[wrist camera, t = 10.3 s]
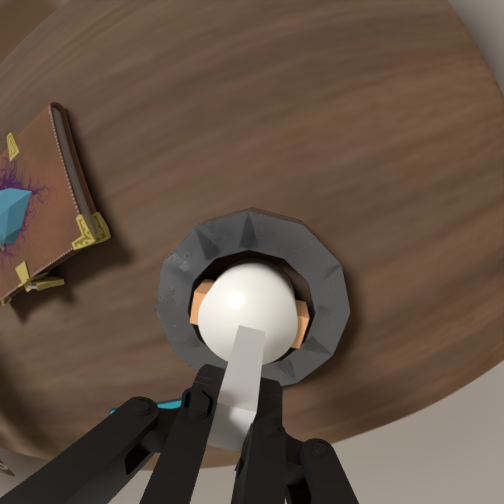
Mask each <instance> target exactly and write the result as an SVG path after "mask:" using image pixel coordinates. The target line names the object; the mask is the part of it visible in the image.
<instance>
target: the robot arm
mask: <svg viewBox="0 0 504 504" xmlns="http://www.w3.org/2000/svg"><path fill="white" fill-rule="evenodd" d="M264 339H265V331H261V330H257V329H253V328H249V327H245V326H241V325H239V327H238V330H237V334H236V337H235V341H234V344H233V348H232V351H231V355H230V358H229V362H228V365H227V369H224V368H221V367H217V366H213V365H210V364H205V365H204V366H202V367H201V368H200V369H199V371H198V373H197V376H196V378H195V381H194V383H193V385H192V388H189V389H187V390H185V391H184V392H183V394H182V400H181V406H180V407H177V408H159V407H158V405H157V404H156V403H155V402H154V401H153V400H151V399H149V398H146V397H140V396H139V397H133V398H131V399H129V400H128V401H126V402H125V403H124V404H123V405H121V406H120V407H119V408H118V409H117V410H115V411H114V412H113V413H112V414H110V415H109V416H108V417H107V418H105V419H104V420H103V421H102V422H100V423H99V424H98V425H97V426H95V427H94V428H93V429H92V430H90V431H89V432H88V433H87V434H85V435H84V436H83V437H81V438H80V439H79V440H78V441H76V442H75V443H74V444H72V445H71V446H70V447H69V448H67V449H66V450H65V451H63V452H62V453H61V454H59V455H58V456H57V457H56V458H54V459H53V460H52V461H50V462H49V463H48V464H46V465H45V466H44V467H42V468H41V469H40V470H38V471H37V472H36V473H34V474H33V475H31V476H30V477H29V478H27V479H26V480H25V481H23V482H22V483H20V484H19V485H18V486H16V487H15V488H14V489H12V490H11V491H9V492H8V493H6V494H5V495H4V496H2V497H1V498H0V504H107V503H109V502H110V500H111V499H112V498H113V497H114V496H115V495H116V494H117V493H118V492H119V491H120V490H121V489H122V488H123V487H124V486H125V485H126V484H127V483H128V482H129V481H130V479H132V478H133V477H134V476H135V474H136V473H137V472H138V471H139V470H140V469H141V468H142V467H143V466H144V465H145V464H146V463H147V461H148V460H149V459H150V458H151V457H152V456H153V455H154V454H155V453H161V454H160V456H159V459H158V461H157V463H156V466H155V468H154V470H153V473H152V475H151V477H150V480H149V482H148V485H147V487H146V489H145V492H144V494H143V496H142V499H141V501H140V503H139V504H190V501H191V497H192V493H193V490H194V487H195V483H196V480H197V476H198V473H199V469H200V466H201V462H202V459H203V455H204V452H205V448H206V444H208V445H211V446H215V447H219V448H223V449H227V450H232V451H236V452H241V450H242V452H241V457H240V459H239V461H238V463H237V466H236V468H235V471H237V472H236V477H235V484H234V489H233V494H232V500H231V504H285V498H286V502H287V504H359V503H358V501H357V498H356V496H355V494H354V492H353V490H352V487H351V485H350V483H349V481H348V479H347V477H346V474H345V472H344V470H343V468H342V466H341V464H340V461H339V459H338V457H337V455H336V453H335V451H334V449H333V447H332V446H331V444H329V443H328V442H326V441H324V440H322V439H316V438H313V439H309V440H307V441H306V442H305V443H304V442H302V441H299V440H297V439H295V438H293V437H291V436H289V435H288V434H287V433H286V432H285V428H284V427H283V426H282V387H281V385H280V383H279V381H276V380H272V379H267V378H263V377H261V368H262V359H263V349H264Z"/></svg>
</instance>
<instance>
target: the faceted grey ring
mask: <svg viewBox="0 0 504 504" xmlns="http://www.w3.org/2000/svg"><path fill="white" fill-rule="evenodd" d="M245 250H253V251H256V252H260V253H264V254H268V255H272V256H276V257H279V258H283V259H285V260H286V261H287V262H288V263H289V264H290V265H291V266H292V267H293V268H294V269H295V270H296V271H297V272H298V273H299V274H300V275H301V276H302V277H303V278H304V279H305V280H306V281H307V283H308V287H309V291H310V295H311V300H310V303H309V306H308V309H307V310H308V315H309V321H308V324H307V327H306V330H305V333H304V336H303V339H302V342H301V345H300V348H299V349H298V348H293V347H290V348H289V349H288V351H287V352H286V353H285V354H284V355H282V356H281V357H280V358H278V359H276V360H275V361H273V362H270V363H268V364H264V365H262V368H261V377H263V378H267V379H272V380H276V381H279V383H280V385H281V386H285V385H290V384H294V383H298V382H299V381H300V380H302V379H303V378H304V377H306V376H307V375H308V374H310V373H311V372H312V371H314V370H315V369H316V368H318V367H319V366H320V365H321V364H323V363H324V362H325V361H326V360H328V359H329V358H330V357H331V356H333V354H334V352H335V349H336V347H337V345H338V342H339V340H340V338H341V335H342V333H343V330H344V328H345V325H346V323H347V320H348V318H349V315H350V313H351V312H350V307H349V302H348V296H347V291H346V285H345V280H344V275H343V270H342V265H341V263H340V262H339V261H338V259H337V258H336V257H335V256H334V254H332V253H331V251H330V250H329V249H328V248H327V247H326V246H325V245H324V244H323V243H322V242H321V241H320V240H319V239H318V238H317V237H316V236H315V235H314V234H313V233H312V232H311V231H310V230H309V229H308V228H307V227H306V226H305V225H304V224H303V223H302V222H301V220H298V219H294V218H290V217H287V216H283V215H279V214H275V213H271V212H268V211H264V210H260V209H256V208H252V207H251V208H248V209H245V210H241V211H238V212H234V213H231V214H227V215H224V216H220V217H217V218H214V219H210V220H207V221H204V222H202V223H200V224H198V225H196V226H195V227H194V228H193V229H192V230H191V231H190V232H189V234H188V235H187V236H186V237H185V238H184V239H183V240H182V242H181V243H180V244H179V245H178V246H177V247H176V248H175V249H174V251H173V252H172V253H171V254H170V255H169V256H168V258H167V259H166V260H165V261H164V262H163V263H162V267H161V274H160V281H159V287H158V295H157V302H156V309H155V310H156V312H157V315H158V317H159V320H160V322H161V324H162V327H163V329H164V332H165V334H166V336H167V339H168V341H169V343H170V345H171V348H172V350H173V352H175V353H176V354H177V355H178V356H179V357H180V358H182V359H183V360H184V361H185V362H186V363H188V364H189V365H190V366H191V367H192V368H194V369H195V370H196V371H197V372H198V371H199V369H200V368H201V367H202V366H204V365H205V364H210V365H213V366H217V367H221V368H224V369H227V365H228V361H225V360H224V359H222V358H220V357H219V356H217V355H216V354H215V353H214V352H213V351H212V350H211V349H210V348H209V347H208V346H207V345H206V343H205V342H204V340H203V338H202V336H201V333H200V330H199V326H198V325H196V324H192V323H190V317H191V310H192V304H193V297H194V291H195V290H196V289H197V288H198V287H199V285H200V281H201V276H202V272H203V271H204V270H205V269H206V268H207V267H208V265H209V264H210V263H211V262H212V261H213V260H214V259H215V258H219V257H223V256H227V255H230V254H234V253H238V252H242V251H245Z"/></svg>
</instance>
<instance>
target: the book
mask: <svg viewBox="0 0 504 504" xmlns="http://www.w3.org/2000/svg"><path fill="white" fill-rule="evenodd" d="M7 141H8V147H7V148H6V149H5V151H4V152H3V153H2V154H1V155H0V306H1V304H2V303H3V305H4V306H5V305H7V304H8V303H9V302H10V301H11V299H12V297H13V296H14V295H16V294H17V293H18V292H20V291H21V290H23V289H24V288H25V289H26V291H27V292H28V291H30V290H31V289H37V290H38V291H39V290H42V289H46V288H49V287H54V286H59V285H64V279H62V278H59V277H55V276H49V277H45V278H42V277H44V276H45V275H47V274H48V272H49V271H50V270H52V269H53V268H55V267H56V266H58V265H59V264H61V263H62V262H64V261H65V260H67V259H68V258H70V257H72V256H73V255H75V254H76V253H78V252H79V251H81V250H83V249H84V248H86V247H87V246H91V245H94V244H97V243H101V242H104V241H106V240H107V239H109V238H110V237H111V236H110V232H109V228H108V226H107V224H106V223H105V221H104V219H103V218H102V216H101V215H100V213H99V212H97V211H96V209H95V206H94V203H93V200H92V198H91V195H90V192H89V189H88V186H87V183H86V180H85V177H84V174H83V171H82V168H81V165H80V162H79V158H78V155H77V152H76V148H75V145H74V141H73V138H72V134H71V130H70V127H69V123H68V119H67V115H66V111H65V109H64V108H63V107H62V106H61V105H60V104H59V103H57V102H52V103H50V104H49V105H48V106H47V107H46V108H45V109H44V110H43V111H42V112H40V113H39V114H38V115H37V116H36V117H35V118H34V119H33V120H32V121H31V122H30V123H29V124H28V125H27V126H26V127H25V128H24V130H23V131H22V132H21V133H20V134H18V133H12V132H11V133H10V134H9V135H8V136H7ZM1 302H2V303H1Z"/></svg>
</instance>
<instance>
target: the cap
mask: <svg viewBox="0 0 504 504" xmlns="http://www.w3.org/2000/svg"><path fill="white" fill-rule="evenodd" d="M308 321H309V315H308V310H307V305H306V302H303V301H299V300H295V293H294V288H293V285H292V282H291V281H290V279H289V277H288V276H287V274H286V273H285V272H284V271H283V270H282V269H281V268H280V267H278V266H277V265H275V264H273V263H271V262H269V261H266V260H263V259H253V258H251V259H244V260H240V261H237V262H235V263H233V264H231V265H230V266H228V267H227V268H226V269H225V270H224V271H223V272H222V273H221V274H220V276H219V277H218V279H217V280H216V281H213V280H209V279H204V281H203V282H202V283H201V284H200V285H199V287H198V288H197V289H196V290H195V291H194V297H193V304H192V310H191V317H190V323H192V324H196V325H198V326H199V330H200V333H201V336H202V338H203V340H204V342H205V343H206V345H207V346H208V347H209V348H210V349H211V350H212V351H213V352H214V353H215V354H216V355H217V356H219V357H220V358H222V359H224V360H225V361H228V362H229V358H230V355H231V351H232V348H233V344H234V341H235V337H236V334H237V330H238V327H239V325H241V326H245V327H249V328H253V329H257V330H261V331H265V339H264V349H263V359H262V365H264V364H268V363H270V362H273V361H275V360H276V359H278V358H280V357H281V356H282V355H284V354H285V353H286V352H287V351H288V349H289V348H290V347H293V348H298V349H299V348H300V345H301V342H302V339H303V336H304V333H305V330H306V327H307V324H308Z"/></svg>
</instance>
